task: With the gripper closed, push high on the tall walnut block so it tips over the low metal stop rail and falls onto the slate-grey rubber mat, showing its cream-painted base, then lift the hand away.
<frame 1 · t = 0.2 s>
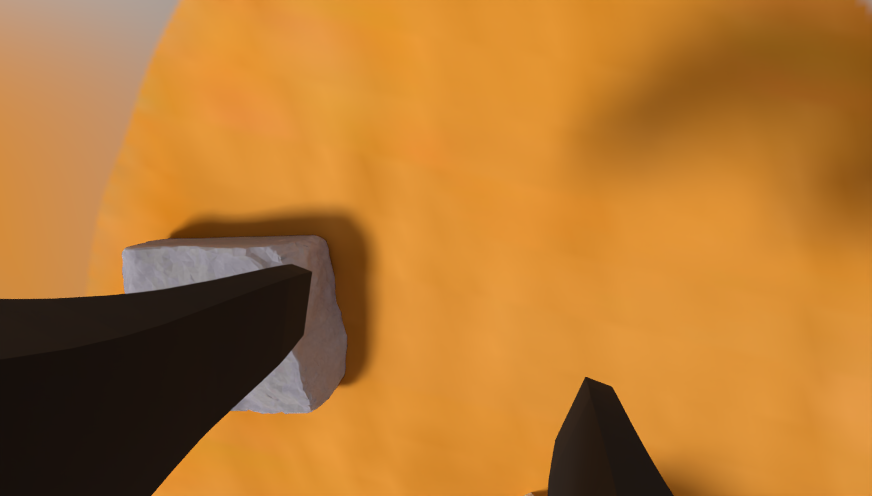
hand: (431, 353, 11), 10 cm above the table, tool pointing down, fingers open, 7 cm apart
stone block: (258, 315, 26), on the table
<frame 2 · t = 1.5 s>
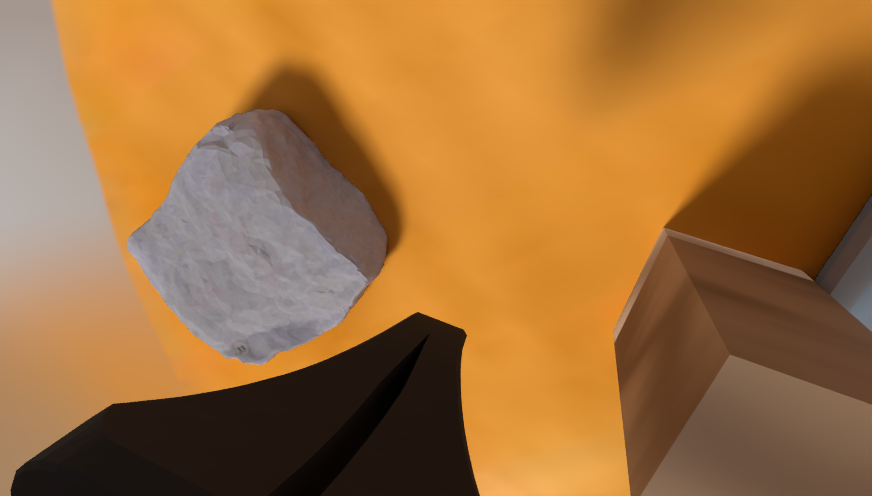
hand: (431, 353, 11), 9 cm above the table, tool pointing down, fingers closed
walnut block: (699, 303, 18), on the table
stone block: (285, 244, 24), on the table
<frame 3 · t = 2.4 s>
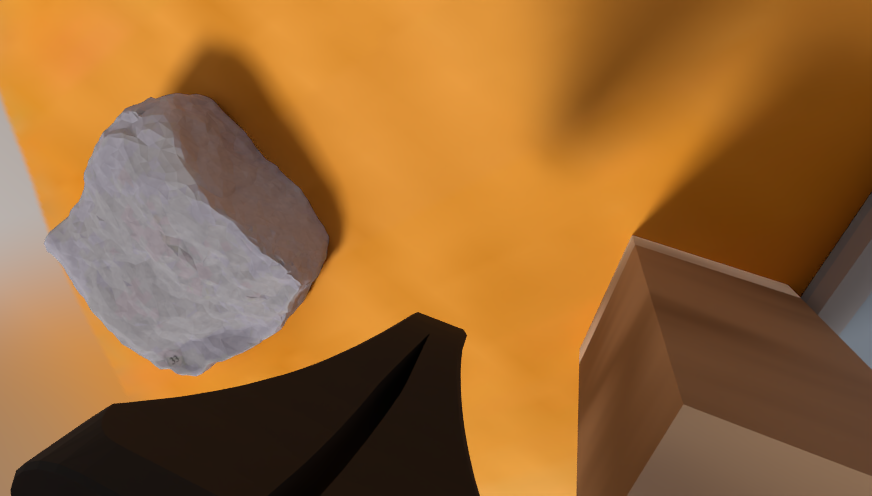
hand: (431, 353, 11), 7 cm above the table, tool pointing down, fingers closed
walnut block: (673, 320, 16), on the table
stone block: (224, 244, 22), on the table
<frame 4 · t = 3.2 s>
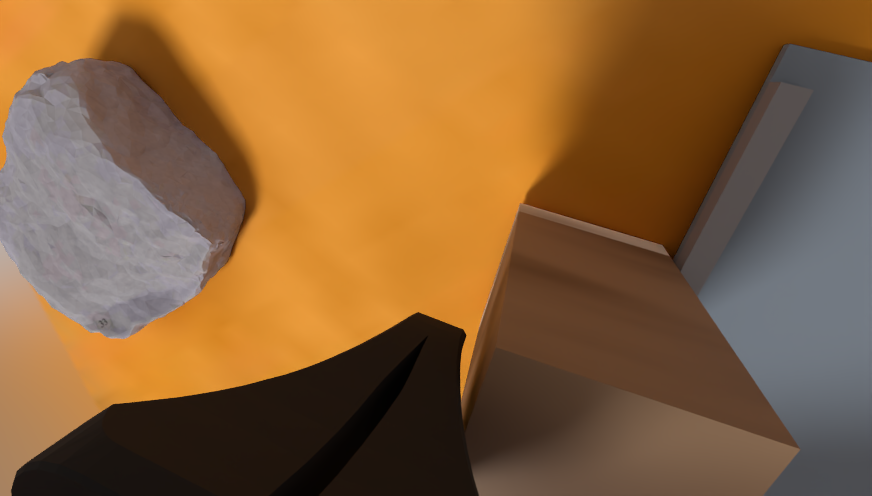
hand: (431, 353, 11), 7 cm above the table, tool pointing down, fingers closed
walnut block: (564, 284, 16), on the table, tilted 5°, touching gripper
stone block: (153, 212, 22), on the table
tipping mat: (843, 380, 15), on the table
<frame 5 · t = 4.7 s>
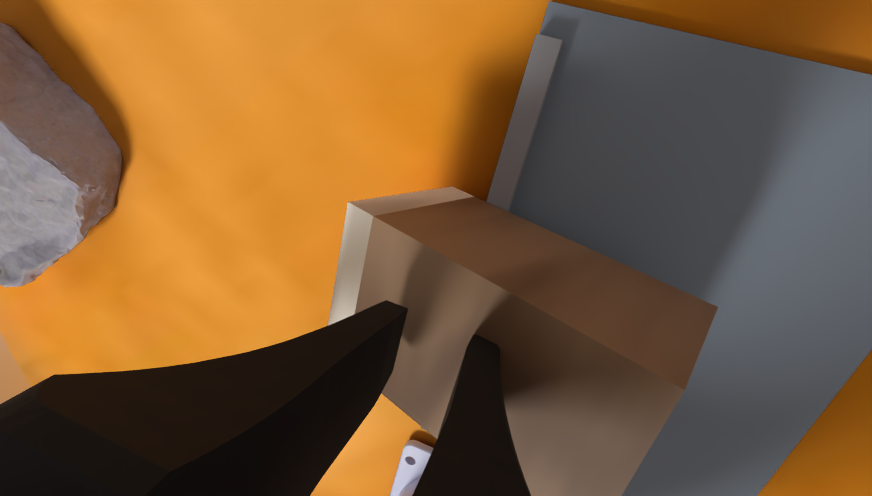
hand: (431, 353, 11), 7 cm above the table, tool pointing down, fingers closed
walnut block: (392, 261, 15), point 3 cm above the table, tilted 69°, touching gripper, tipping mat
stone block: (48, 169, 24), on the table
tipping mat: (640, 314, 16), on the table
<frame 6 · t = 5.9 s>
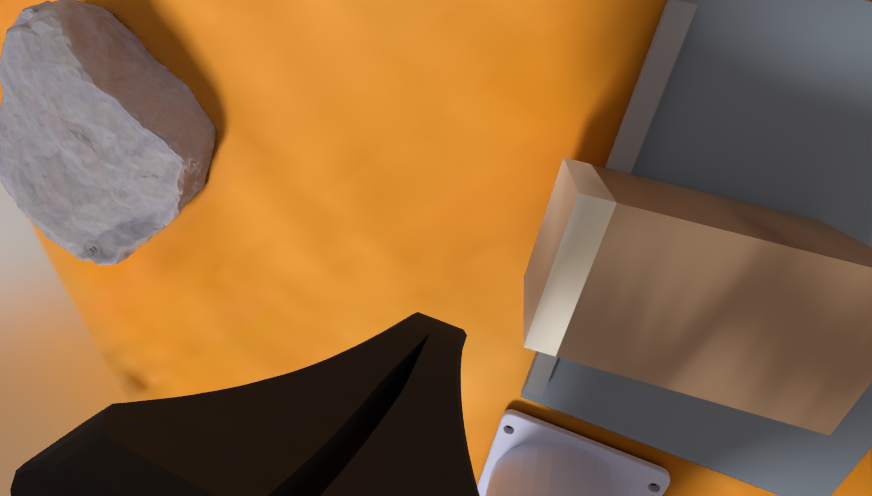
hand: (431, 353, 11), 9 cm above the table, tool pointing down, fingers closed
walnut block: (545, 244, 15), point 4 cm above the table, tilted 97°, touching tipping mat
stone block: (136, 151, 25), on the table
tipping mat: (755, 273, 17), on the table
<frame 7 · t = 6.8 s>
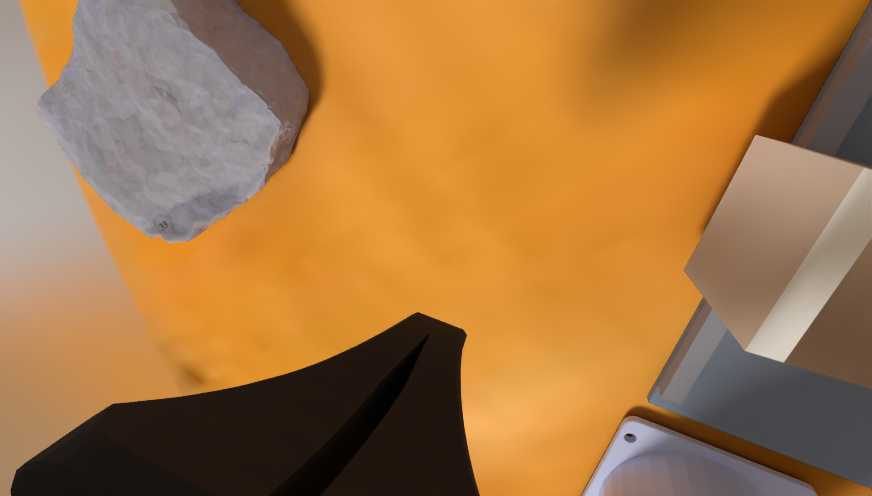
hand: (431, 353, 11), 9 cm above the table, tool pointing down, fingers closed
walnut block: (750, 232, 13), point 4 cm above the table, tilted 97°, touching tipping mat
stone block: (210, 117, 23), on the table
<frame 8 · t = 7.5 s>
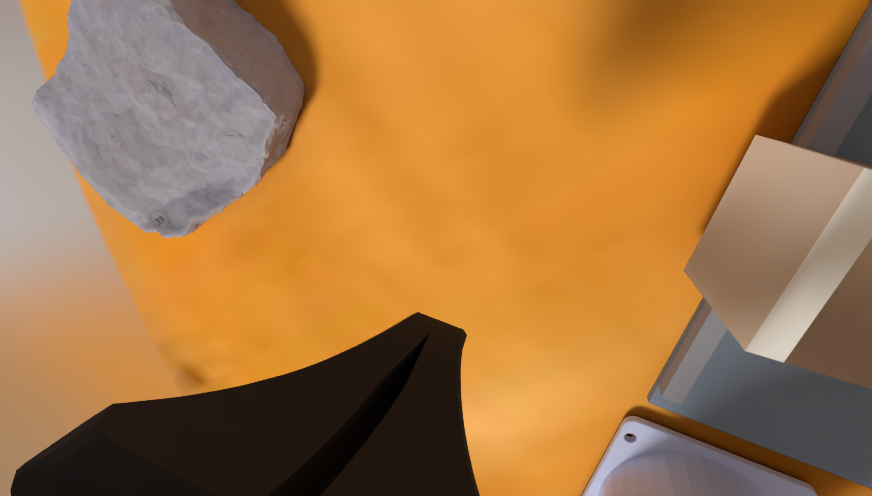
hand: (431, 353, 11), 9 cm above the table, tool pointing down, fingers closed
walnut block: (750, 232, 13), point 4 cm above the table, tilted 97°, touching tipping mat
stone block: (206, 112, 23), on the table
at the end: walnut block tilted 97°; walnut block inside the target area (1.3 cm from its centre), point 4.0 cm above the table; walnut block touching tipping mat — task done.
